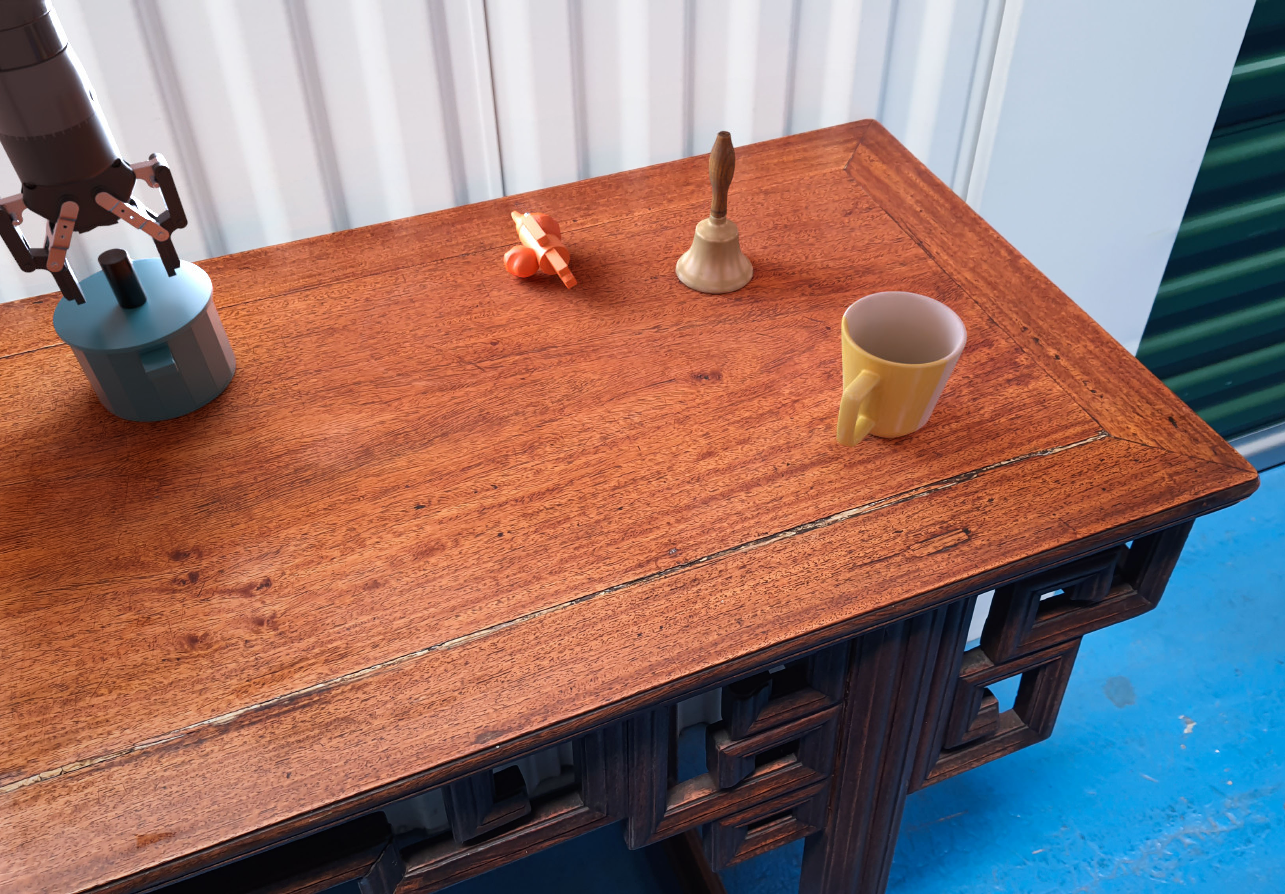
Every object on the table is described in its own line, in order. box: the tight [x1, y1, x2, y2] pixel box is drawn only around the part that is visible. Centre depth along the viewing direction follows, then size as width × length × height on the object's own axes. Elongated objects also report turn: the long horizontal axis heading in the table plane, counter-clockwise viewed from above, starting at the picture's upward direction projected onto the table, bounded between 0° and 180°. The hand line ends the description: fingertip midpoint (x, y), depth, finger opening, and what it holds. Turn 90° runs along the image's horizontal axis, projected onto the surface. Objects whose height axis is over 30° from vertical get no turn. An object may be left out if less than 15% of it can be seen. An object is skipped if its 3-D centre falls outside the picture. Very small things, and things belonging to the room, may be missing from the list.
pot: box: [69, 259, 237, 423], centre depth 92 cm, size 12×18×8 cm
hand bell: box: [675, 130, 754, 294], centre depth 100 cm, size 8×8×16 cm
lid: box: [52, 247, 214, 354], centre depth 87 cm, size 13×13×6 cm
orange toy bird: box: [503, 210, 578, 290], centre depth 105 cm, size 5×8×12 cm
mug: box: [835, 290, 968, 448], centre depth 86 cm, size 14×10×10 cm
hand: (126, 285), depth 87 cm, fingers open, 7 cm apart
